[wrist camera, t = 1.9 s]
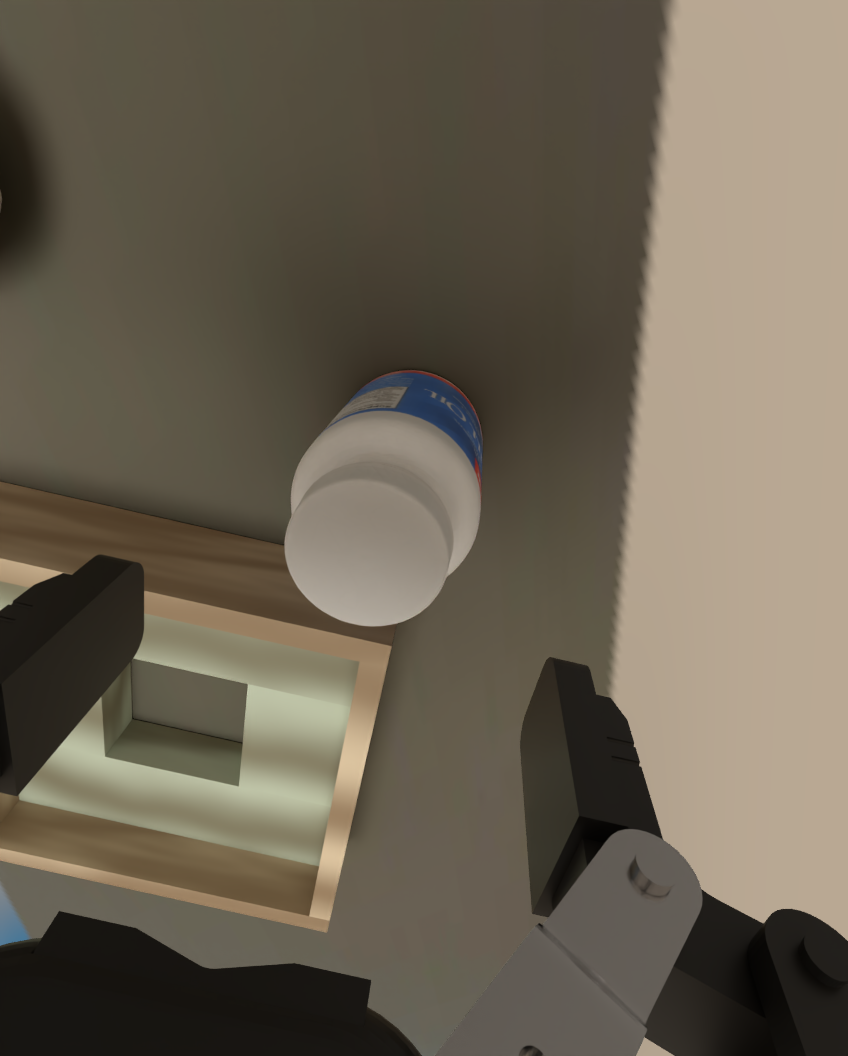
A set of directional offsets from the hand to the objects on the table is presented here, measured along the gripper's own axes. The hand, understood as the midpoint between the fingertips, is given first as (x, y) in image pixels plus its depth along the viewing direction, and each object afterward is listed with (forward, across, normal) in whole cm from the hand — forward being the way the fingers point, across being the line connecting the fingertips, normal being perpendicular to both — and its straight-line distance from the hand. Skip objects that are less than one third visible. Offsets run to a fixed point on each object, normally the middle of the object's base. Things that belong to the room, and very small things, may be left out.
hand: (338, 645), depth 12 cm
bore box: (+13, +8, +15) cm, 21 cm away
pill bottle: (+13, 0, 0) cm, 13 cm away
